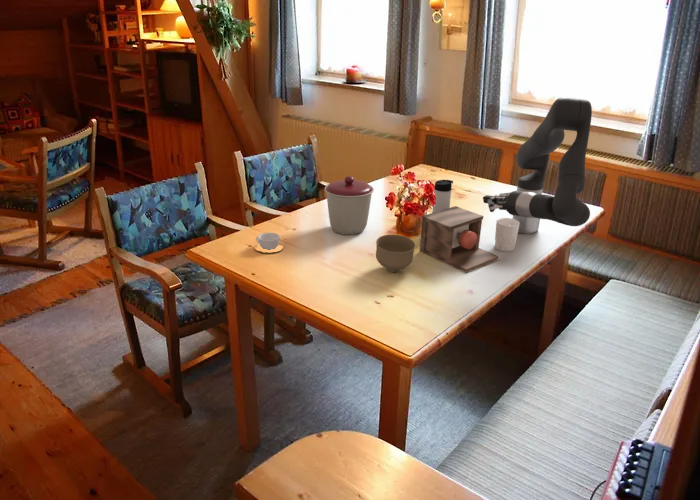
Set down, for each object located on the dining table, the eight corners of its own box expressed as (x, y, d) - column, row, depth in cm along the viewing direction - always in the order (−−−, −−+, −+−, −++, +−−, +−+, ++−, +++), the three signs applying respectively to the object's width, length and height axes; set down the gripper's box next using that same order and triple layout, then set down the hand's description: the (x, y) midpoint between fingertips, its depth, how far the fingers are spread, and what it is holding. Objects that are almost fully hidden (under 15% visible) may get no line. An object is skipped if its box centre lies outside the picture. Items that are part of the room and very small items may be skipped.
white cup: (516, 245, 210) (520, 219, 205) (514, 253, 203) (518, 227, 199) (494, 242, 212) (497, 216, 208) (491, 250, 205) (495, 224, 201)
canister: (316, 234, 215) (316, 179, 207) (335, 218, 231) (336, 167, 222) (361, 242, 209) (363, 186, 201) (378, 225, 224) (381, 173, 216)
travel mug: (447, 234, 217) (452, 183, 209) (430, 233, 218) (434, 182, 210) (448, 228, 223) (453, 178, 215) (431, 227, 224) (435, 177, 216)
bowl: (387, 281, 181) (389, 252, 177) (367, 265, 191) (368, 237, 187) (421, 274, 187) (423, 245, 183) (400, 258, 197) (401, 231, 193)
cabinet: (498, 259, 198) (503, 223, 193) (466, 272, 188) (470, 235, 183) (452, 240, 213) (455, 206, 207) (419, 251, 203) (422, 216, 198)
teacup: (288, 246, 205) (288, 234, 203) (273, 257, 197) (273, 244, 195) (265, 241, 209) (264, 229, 207) (249, 251, 201) (248, 238, 199)
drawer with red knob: (479, 248, 199) (482, 226, 196) (460, 255, 193) (462, 233, 190) (451, 236, 208) (453, 215, 204) (432, 243, 202) (434, 222, 199)
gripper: (539, 185, 175) (497, 181, 189) (507, 199, 169) (467, 194, 184) (542, 208, 177) (501, 203, 192) (511, 223, 171) (471, 216, 186)
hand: (484, 199), depth 188 cm, fingers closed
